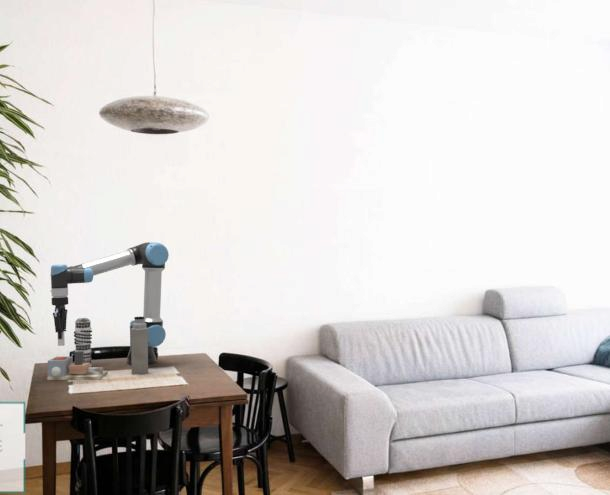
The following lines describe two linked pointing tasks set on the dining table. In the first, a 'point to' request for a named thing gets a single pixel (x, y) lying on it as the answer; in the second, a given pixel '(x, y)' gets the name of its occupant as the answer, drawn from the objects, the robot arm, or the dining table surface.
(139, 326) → the thermos bottle
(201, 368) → the dining table surface
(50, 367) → the end cabinet
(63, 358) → the button
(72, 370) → the carriage
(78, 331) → the decorative candle
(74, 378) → the rail base
